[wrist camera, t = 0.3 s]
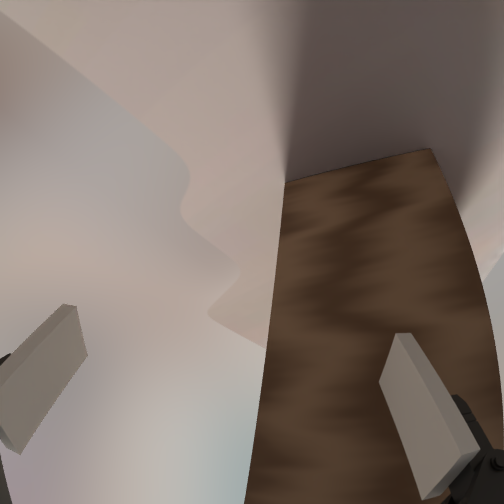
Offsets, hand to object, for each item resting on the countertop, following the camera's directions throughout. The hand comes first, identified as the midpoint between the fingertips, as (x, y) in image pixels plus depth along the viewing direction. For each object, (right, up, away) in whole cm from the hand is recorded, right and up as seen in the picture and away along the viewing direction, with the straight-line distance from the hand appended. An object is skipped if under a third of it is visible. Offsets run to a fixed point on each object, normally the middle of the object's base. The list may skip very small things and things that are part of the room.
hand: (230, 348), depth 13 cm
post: (+12, +7, +14) cm, 19 cm away
